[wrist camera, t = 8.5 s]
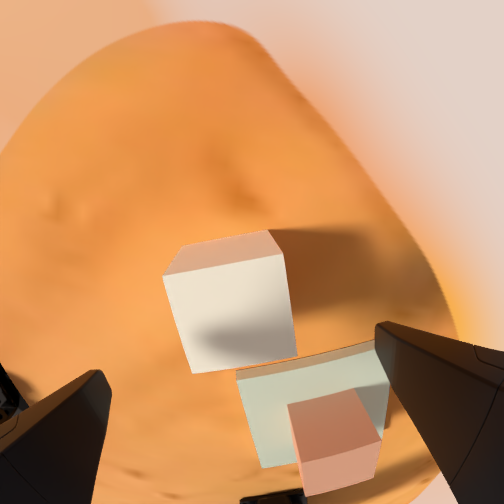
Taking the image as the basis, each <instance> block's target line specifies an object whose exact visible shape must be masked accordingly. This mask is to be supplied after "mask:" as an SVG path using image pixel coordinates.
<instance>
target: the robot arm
mask: <svg viewBox="0 0 504 504" xmlns="http://www.w3.org/2000/svg"><path fill="white" fill-rule="evenodd" d="M374 347H375V352H376V354H377V356H378V358H379V360H380V363H381V365H382V367H383V369H384V371H385V373H386V376H387V378H388V380H389V382H390V384H391V386H392V388H393V390H394V392H395V393H396V395H397V397H398V398H399V400H400V402H401V403H402V405H403V406H404V408H405V410H406V411H407V413H408V415H409V416H410V418H411V420H412V421H413V423H414V425H415V427H416V428H417V430H418V432H419V433H420V435H421V437H422V438H423V440H424V442H425V444H426V445H427V447H428V449H429V451H430V452H431V454H432V456H433V458H434V459H435V461H436V463H437V465H438V467H439V468H440V470H441V472H442V474H443V476H444V477H445V479H446V481H447V483H448V485H449V486H450V489H451V490H452V492H453V494H454V496H455V498H456V500H457V502H458V504H504V352H503V351H498V350H494V349H489V348H485V347H481V346H477V345H474V346H473V344H469V343H466V342H462V341H458V340H454V339H451V338H447V337H443V336H440V335H436V334H432V333H429V332H425V331H421V330H418V329H414V328H411V327H407V326H404V325H400V324H397V323H393V322H390V321H385V322H381V323H378V324H376V326H375V342H374ZM111 398H112V390H111V388H110V386H109V384H108V382H107V379H106V377H105V375H104V373H103V372H102V371H101V370H89V371H87V372H86V373H84V374H83V375H81V376H79V377H78V378H76V379H75V380H73V381H71V382H70V383H68V384H67V385H65V386H63V387H62V388H60V389H59V390H57V391H55V392H54V393H52V394H51V395H49V396H47V397H46V398H44V399H42V400H41V401H39V402H38V403H36V404H34V405H33V406H31V407H29V408H28V409H26V410H24V411H23V412H21V413H20V414H19V415H16V416H15V417H13V418H11V419H10V420H8V421H6V422H4V423H3V424H1V425H0V504H91V501H92V495H93V490H94V485H95V480H96V475H97V470H98V466H99V461H100V457H101V452H102V448H103V444H104V440H105V435H106V431H107V425H108V418H109V411H110V404H111ZM240 504H307V498H306V497H305V493H304V490H297V491H292V492H287V493H281V494H275V495H269V496H262V497H254V498H245V499H241V500H240Z"/></svg>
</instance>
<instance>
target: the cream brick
mask: <svg viewBox="0 0 504 504" xmlns="http://www.w3.org/2000/svg"><path fill="white" fill-rule="evenodd" d="M162 277H163V281H164V285H165V288H166V292H167V295H168V299H169V302H170V306H171V309H172V312H173V316H174V319H175V322H176V325H177V329H178V332H179V335H180V338H181V341H182V344H183V347H184V350H185V353H186V356H187V359H188V362H189V365H190V368H191V371H192V374H195V373H203V372H211V371H218V370H224V369H231V368H237V367H243V366H249V365H255V364H260V363H266V362H271V361H276V360H281V359H286V358H291V357H295V356H297V348H296V340H295V333H294V325H293V318H292V311H291V304H290V297H289V290H288V283H287V276H286V269H285V263H284V256H283V253H282V251H281V250H280V248H279V247H278V245H277V243H276V242H275V240H274V239H273V237H272V236H271V234H270V233H269V231H268V230H262V231H257V232H251V233H246V234H240V235H235V236H230V237H225V238H219V239H214V240H209V241H204V242H199V243H193V244H188V245H183V246H182V247H181V248H180V250H179V251H178V253H177V254H176V256H175V257H174V259H173V260H172V262H171V263H170V265H169V267H168V268H167V270H166V271H165V273H164V274H163V276H162Z"/></svg>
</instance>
